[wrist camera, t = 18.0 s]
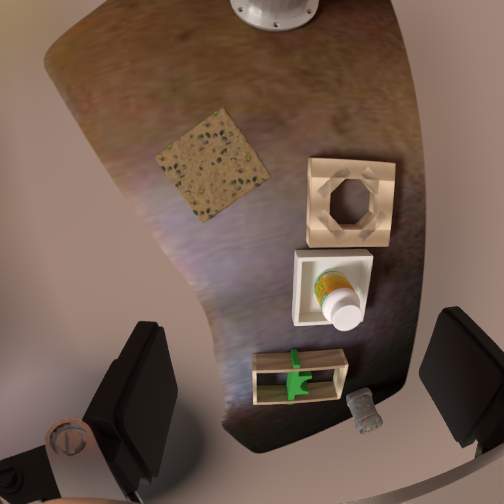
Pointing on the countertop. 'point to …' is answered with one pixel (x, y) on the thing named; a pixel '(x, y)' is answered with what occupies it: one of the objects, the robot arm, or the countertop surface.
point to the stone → (363, 410)
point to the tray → (317, 261)
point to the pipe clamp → (297, 378)
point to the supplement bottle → (338, 300)
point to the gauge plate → (371, 224)
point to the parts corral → (307, 363)
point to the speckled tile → (213, 165)
